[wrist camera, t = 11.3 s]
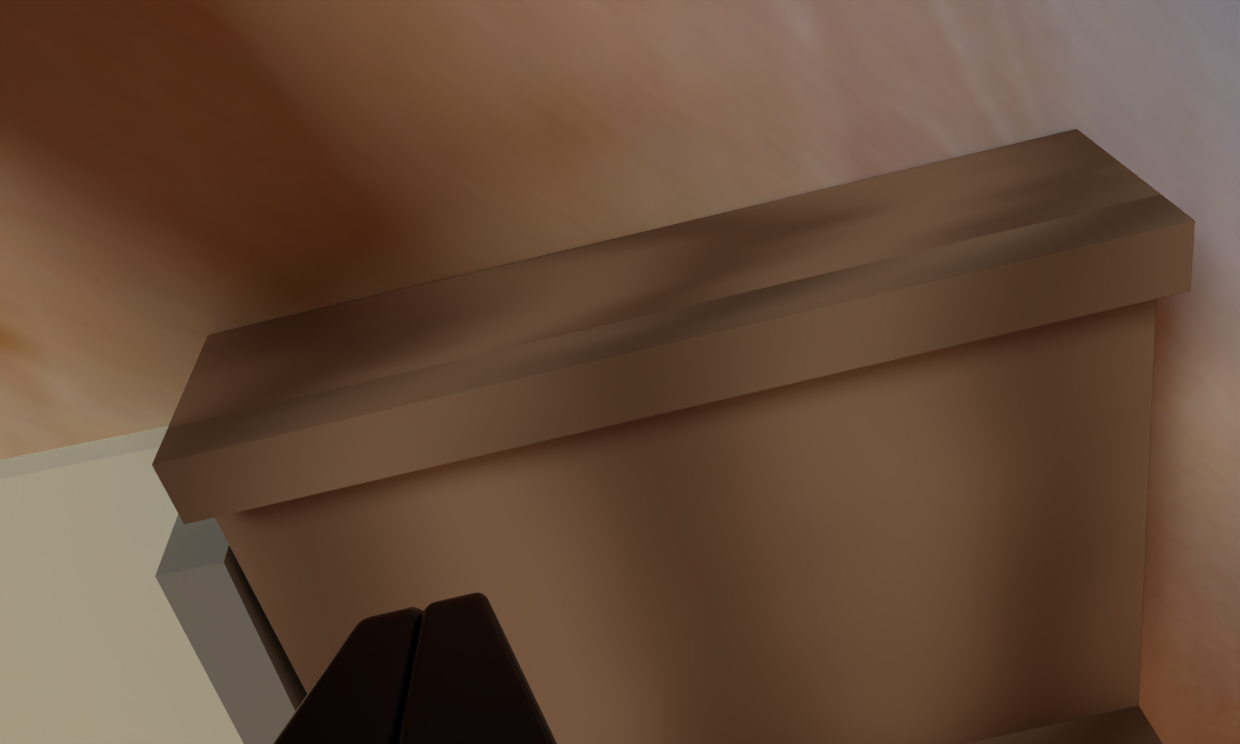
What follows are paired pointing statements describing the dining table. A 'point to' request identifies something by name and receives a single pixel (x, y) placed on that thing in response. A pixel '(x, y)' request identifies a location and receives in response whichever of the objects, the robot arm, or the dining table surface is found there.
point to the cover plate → (127, 610)
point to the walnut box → (738, 460)
